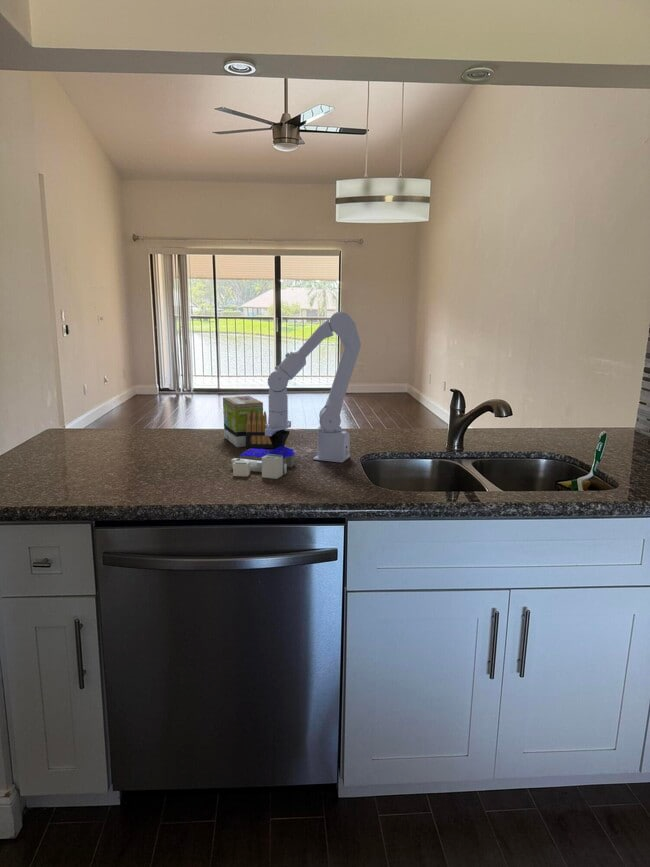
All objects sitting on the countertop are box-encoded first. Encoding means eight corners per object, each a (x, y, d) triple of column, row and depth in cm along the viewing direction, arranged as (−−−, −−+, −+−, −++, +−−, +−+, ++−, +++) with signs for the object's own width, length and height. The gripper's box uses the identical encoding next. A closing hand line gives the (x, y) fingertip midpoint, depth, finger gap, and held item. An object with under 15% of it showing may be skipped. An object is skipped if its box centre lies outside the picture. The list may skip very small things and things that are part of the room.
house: (288, 471, 165) (288, 453, 164) (238, 468, 168) (238, 450, 167) (299, 461, 175) (299, 444, 174) (251, 458, 179) (251, 441, 177)
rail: (287, 473, 163) (286, 462, 162) (284, 474, 161) (284, 464, 160) (234, 467, 168) (234, 457, 168) (231, 468, 166) (231, 459, 166)
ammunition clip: (245, 447, 190) (245, 410, 190) (246, 447, 191) (246, 411, 191) (278, 447, 190) (278, 411, 190) (278, 447, 191) (278, 411, 192)
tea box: (223, 438, 204) (221, 396, 201) (250, 435, 209) (249, 394, 206) (235, 447, 191) (234, 403, 188) (264, 444, 195) (264, 401, 192)
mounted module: (282, 474, 161) (282, 454, 159) (276, 478, 157) (276, 458, 156) (268, 473, 162) (268, 453, 161) (261, 477, 158) (261, 456, 157)
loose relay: (250, 473, 162) (249, 460, 161) (247, 476, 159) (247, 463, 158) (236, 473, 162) (235, 460, 162) (233, 476, 160) (232, 463, 159)
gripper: (276, 406, 183) (276, 448, 186) (255, 413, 170) (256, 458, 173) (297, 407, 181) (297, 450, 184) (277, 415, 167) (277, 461, 170)
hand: (278, 454), depth 178 cm, fingers closed
